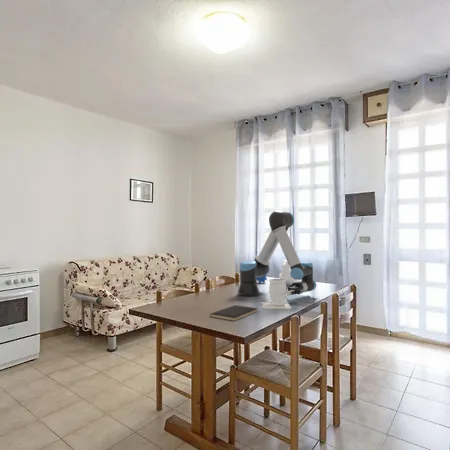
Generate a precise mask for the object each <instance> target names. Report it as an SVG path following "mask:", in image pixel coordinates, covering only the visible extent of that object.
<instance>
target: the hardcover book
mask: <svg viewBox="0 0 450 450" xmlns="http://www.w3.org/2000/svg"><path fill="white" fill-rule="evenodd" d="M257 312H258V308H257V307H252V306H250V307H249V306H245V305H244V306H243V305H237V304H235V305H231V306H228V307H225V308H223V309H219V310H216V311H214V312H211V313H210V317H212V318H218V319H223V320H228V321H238V320H240V319H242V318H244V317H247V316H249V315H252V314H254V313H257Z"/></svg>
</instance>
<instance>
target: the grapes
mask: <svg viewBox="0 0 450 450" xmlns="http://www.w3.org/2000/svg"><path fill="white" fill-rule="evenodd" d="M267 275H268V274H266V275H265V276H263V277H258V278H256V282H258V283H259V284H261V283H263V284H264V283H265V282H266V281H267V280H268V277H267Z"/></svg>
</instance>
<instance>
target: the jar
mask: <svg viewBox="0 0 450 450" xmlns="http://www.w3.org/2000/svg"><path fill="white" fill-rule="evenodd" d="M268 281H269V287H268V292H269V299H270V300H271V304H272V305H276V306H281V305H285V301H286V300H287V299H286V295H287V290H288V289H287V287H286V280H285V279H280V278H270V279H269V280H268Z"/></svg>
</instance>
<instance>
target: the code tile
mask: <svg viewBox="0 0 450 450" xmlns="http://www.w3.org/2000/svg"><path fill="white" fill-rule="evenodd" d="M271 302H272V301H271ZM271 302H269V301H268V302H264V301H262V302H261V303H262V309H263V310H291V309H292V308H291V306H290V304H289V302H288V301H287V302H285V301H284V302H285V305H281V306H276V305H272V304H271Z"/></svg>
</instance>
